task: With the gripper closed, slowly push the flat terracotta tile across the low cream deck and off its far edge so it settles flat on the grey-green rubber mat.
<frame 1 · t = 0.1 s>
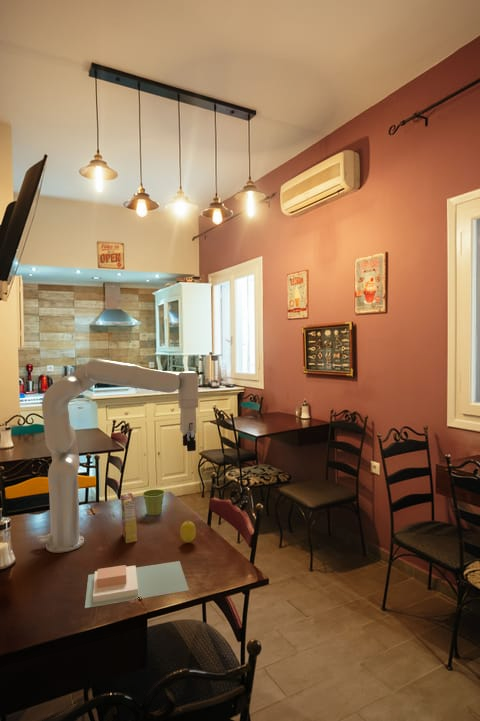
hand: (189, 448, 166), 31 cm above the table, tool pointing down, fingers open, 9 cm apart
rubber mat: (136, 583, 128), on the table
plant pot: (154, 513, 184), on the table
candy box: (129, 538, 160), on the table
cream deck: (115, 585, 127), resting on rubber mat
lemon: (188, 543, 155), on the table
terracotta tile: (112, 580, 126), point 2 cm above the table, touching cream deck
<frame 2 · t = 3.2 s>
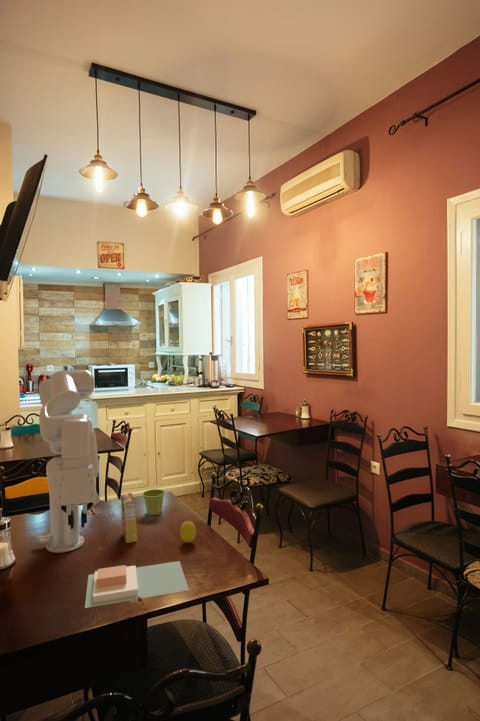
hand: (77, 526, 123), 19 cm above the table, tool pointing down, fingers closed
nothing on the table moved.
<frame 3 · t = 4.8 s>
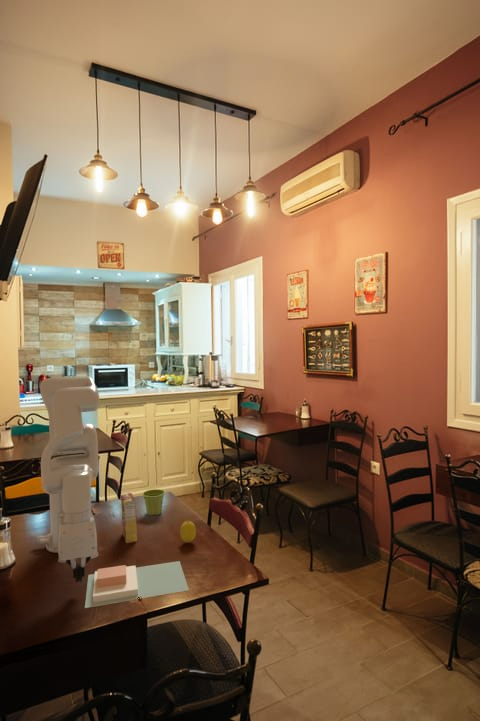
hand: (79, 579, 123), 4 cm above the table, tool pointing down, fingers closed
nothing on the table moved.
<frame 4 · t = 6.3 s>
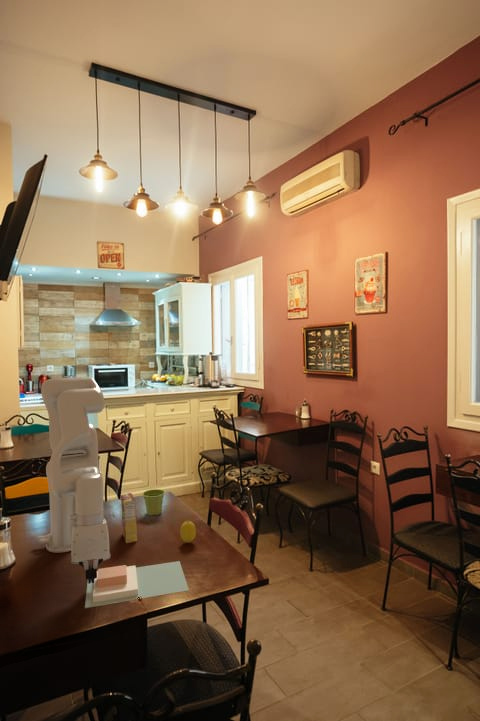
hand: (91, 580, 125), 3 cm above the table, tool pointing down, fingers closed
terracotta tile: (112, 580, 126), point 2 cm above the table, touching cream deck, gripper
everything else where it was.
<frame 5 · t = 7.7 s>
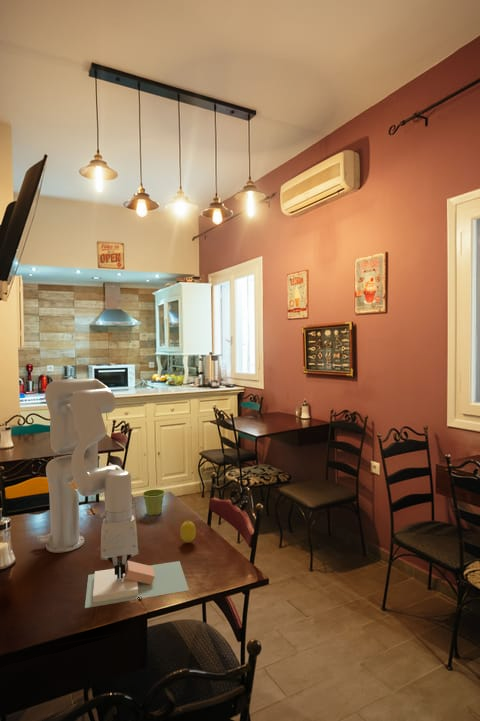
hand: (120, 576, 127), 3 cm above the table, tool pointing down, fingers closed
terracotta tile: (137, 576, 128), point 2 cm above the table, tilted 23°, touching gripper
everything else where it was.
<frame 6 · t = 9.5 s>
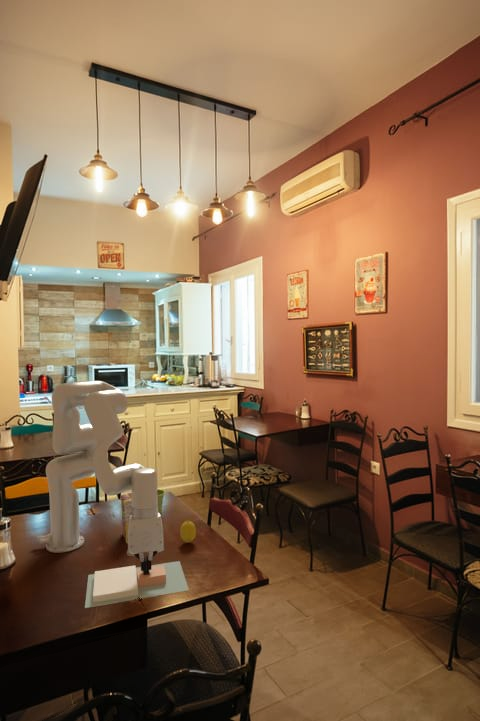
hand: (146, 572, 129), 3 cm above the table, tool pointing down, fingers closed
terracotta tile: (151, 580, 129), resting on rubber mat, touching gripper
everything else where it was.
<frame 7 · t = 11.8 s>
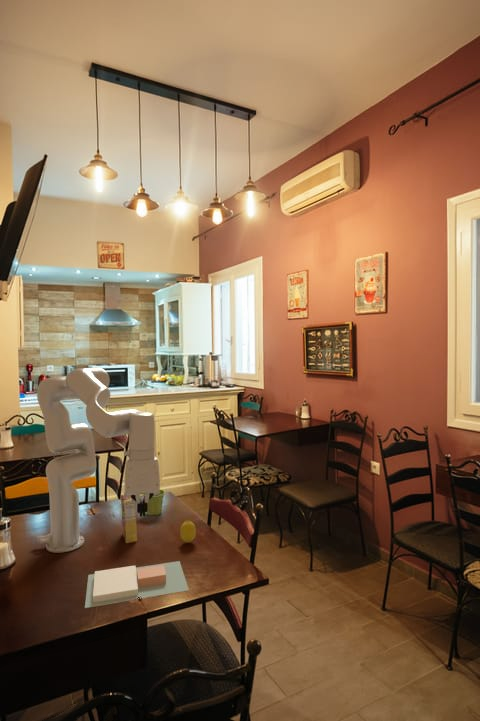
hand: (142, 514, 130), 20 cm above the table, tool pointing down, fingers closed
terracotta tile: (151, 580, 129), resting on rubber mat
everything else where it was.
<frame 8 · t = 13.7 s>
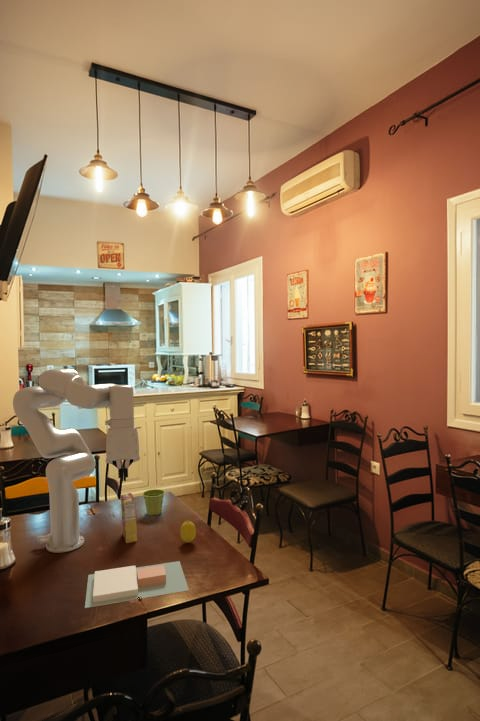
hand: (123, 479, 140), 27 cm above the table, tool pointing down, fingers closed
nothing on the table moved.
at the end: terracotta tile resting on rubber mat; terracotta tile inside the target area (3.3 cm from its centre), resting on rubber mat; terracotta tile tilted 0° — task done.
